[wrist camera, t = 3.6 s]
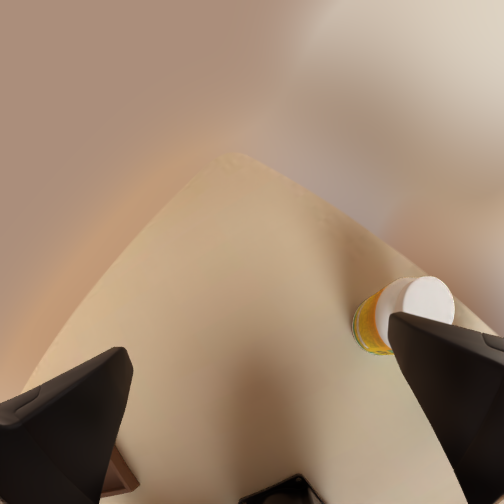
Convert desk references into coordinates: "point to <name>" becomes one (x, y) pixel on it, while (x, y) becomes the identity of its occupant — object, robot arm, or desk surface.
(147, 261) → the desk surface
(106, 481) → the tray
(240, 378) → the desk surface
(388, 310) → the supplement bottle
